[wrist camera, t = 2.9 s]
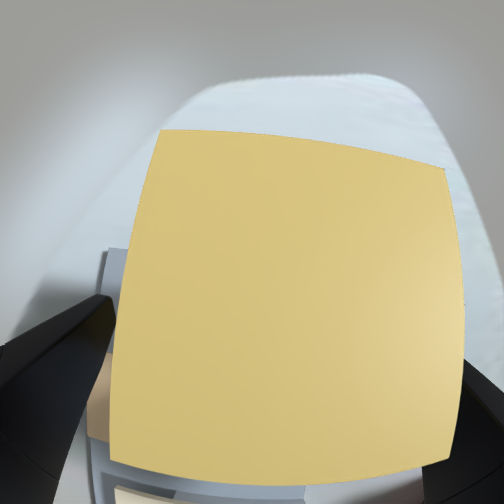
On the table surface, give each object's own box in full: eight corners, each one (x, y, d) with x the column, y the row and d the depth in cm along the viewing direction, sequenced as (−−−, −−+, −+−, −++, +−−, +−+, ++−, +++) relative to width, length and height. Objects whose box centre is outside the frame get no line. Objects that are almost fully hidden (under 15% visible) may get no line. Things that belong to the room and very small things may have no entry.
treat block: (289, 372, 15) (448, 458, 2) (214, 367, 15) (109, 459, 2) (294, 300, 16) (443, 168, 3) (221, 294, 16) (160, 130, 3)
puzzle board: (285, 564, 11) (289, 583, 8) (106, 537, 11) (94, 552, 8) (321, 271, 17) (334, 259, 15) (113, 251, 17) (97, 238, 15)
